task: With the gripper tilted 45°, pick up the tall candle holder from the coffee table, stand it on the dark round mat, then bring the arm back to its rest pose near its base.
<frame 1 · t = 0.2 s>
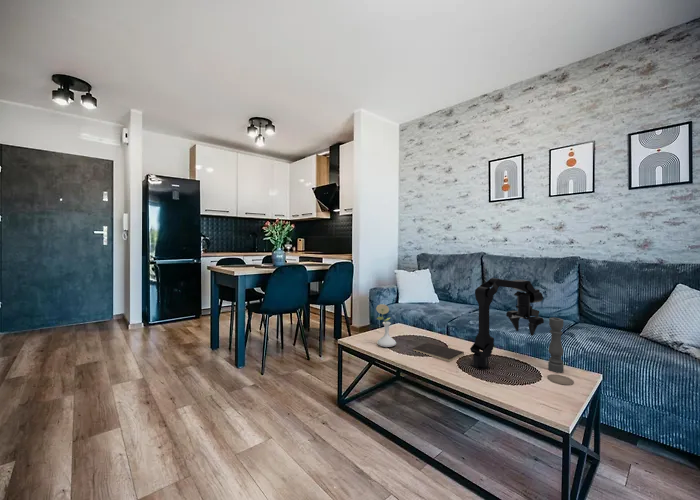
hand: (524, 333, 163), 14 cm above the table, tool pointing down, fingers open, 9 cm apart
candle holder: (555, 370, 150), on the table
flower in vase: (385, 345, 188), on the table
hardcover book: (438, 354, 175), on the table
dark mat: (560, 380, 139), on the table
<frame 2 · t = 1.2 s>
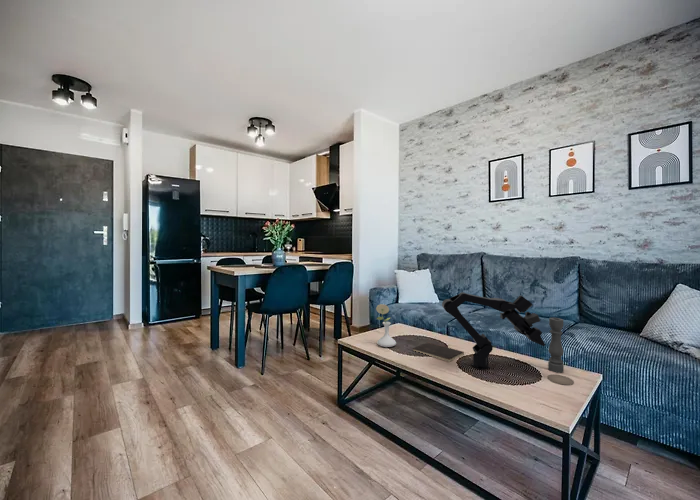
hand: (539, 342, 151), 13 cm above the table, tool tilted 45°, fingers open, 9 cm apart
nothing on the table moved.
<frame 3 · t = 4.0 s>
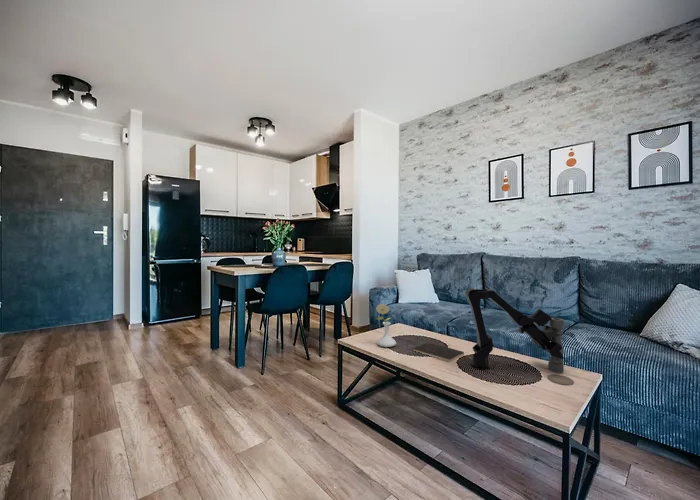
hand: (559, 356, 150), 7 cm above the table, tool tilted 45°, fingers closed on candle holder, 6 cm apart
candle holder: (555, 370, 150), on the table, touching arm, gripper
everything else where it was.
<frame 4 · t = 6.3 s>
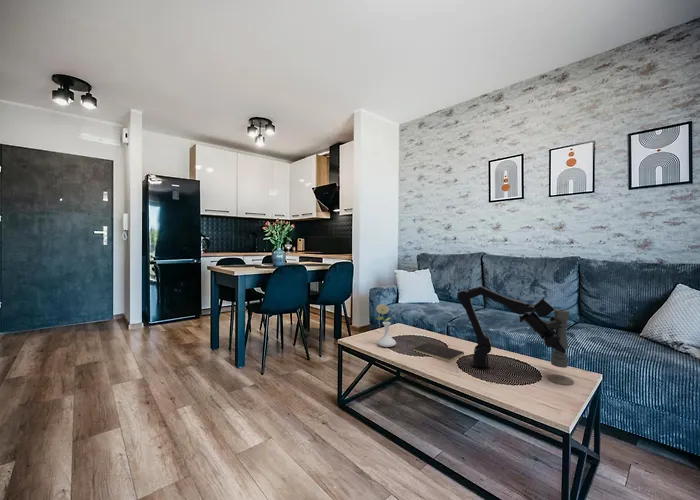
hand: (563, 350, 140), 13 cm above the table, tool tilted 45°, fingers closed on candle holder, 6 cm apart
candle holder: (559, 365, 141), point 6 cm above the table, touching gripper
everything else where it was.
when the fingers open (8 cm above the table, at t = 8.5 s): candle holder stays where it is, resting on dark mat.
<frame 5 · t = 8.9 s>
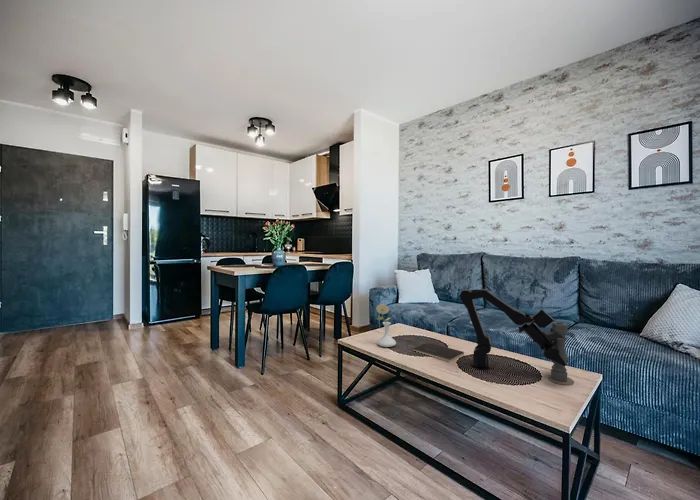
hand: (564, 361, 139), 9 cm above the table, tool tilted 45°, fingers open, 9 cm apart
candle holder: (558, 379, 140), resting on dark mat
everything else where it was.
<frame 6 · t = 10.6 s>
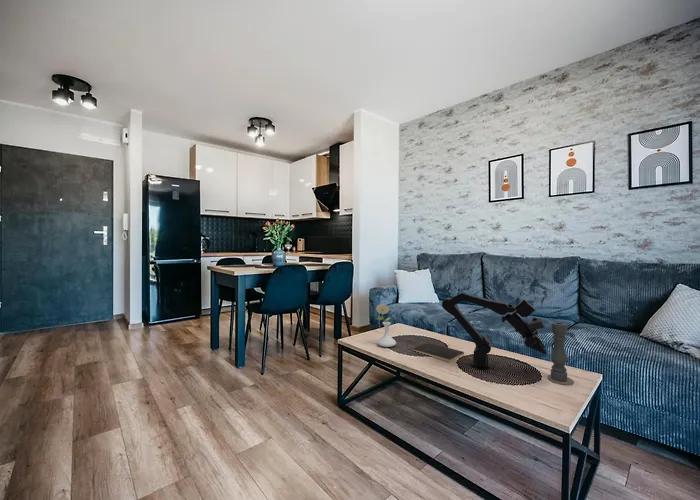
hand: (545, 350, 142), 12 cm above the table, tool tilted 45°, fingers open, 9 cm apart
nothing on the table moved.
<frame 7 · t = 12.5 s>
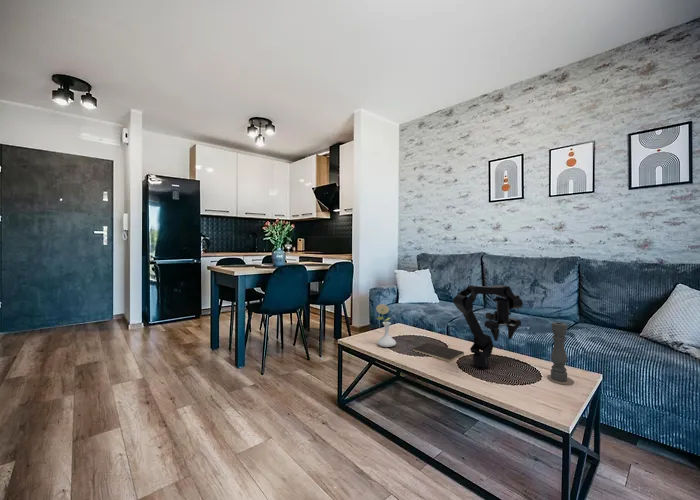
hand: (502, 339, 159), 12 cm above the table, tool pointing down, fingers open, 9 cm apart
nothing on the table moved.
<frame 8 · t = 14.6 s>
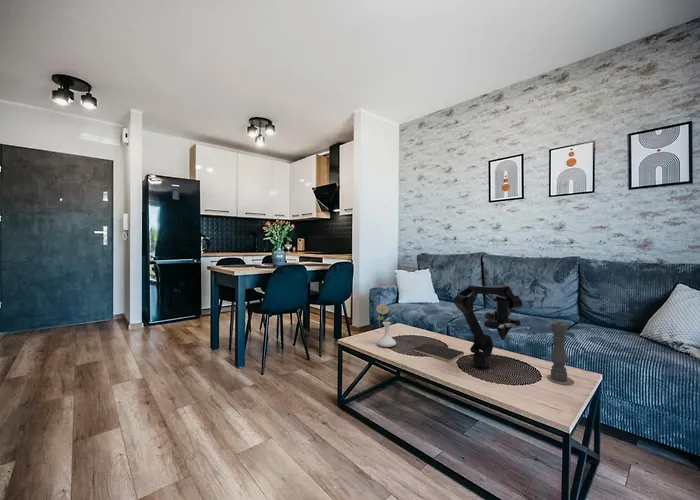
hand: (502, 339, 159), 12 cm above the table, tool pointing down, fingers closed
nothing on the table moved.
at the end: candle holder inside the target area on the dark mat (0.6 cm from its centre), point 0.3 cm above the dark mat's base; candle holder tilted 0°; the gripper is holding nothing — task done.
